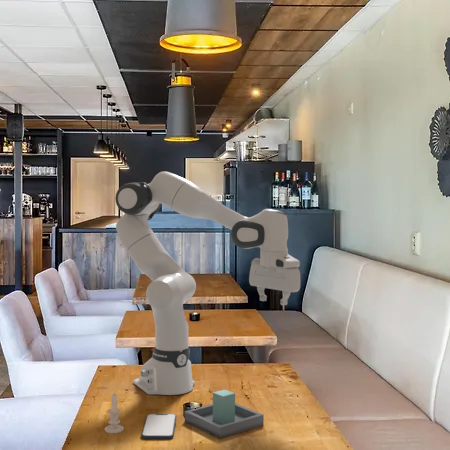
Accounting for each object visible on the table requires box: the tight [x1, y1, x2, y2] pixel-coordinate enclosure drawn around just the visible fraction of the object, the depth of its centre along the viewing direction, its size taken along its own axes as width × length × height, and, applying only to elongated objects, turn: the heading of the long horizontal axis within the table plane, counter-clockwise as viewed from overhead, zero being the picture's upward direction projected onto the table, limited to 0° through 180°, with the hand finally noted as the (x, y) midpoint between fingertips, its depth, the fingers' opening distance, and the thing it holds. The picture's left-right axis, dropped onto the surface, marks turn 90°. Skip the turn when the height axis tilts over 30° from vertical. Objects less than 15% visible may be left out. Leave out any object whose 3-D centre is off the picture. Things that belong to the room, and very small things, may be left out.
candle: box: [104, 392, 125, 434], centre depth 166 cm, size 5×5×10 cm
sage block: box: [212, 389, 236, 425], centre depth 172 cm, size 4×4×8 cm
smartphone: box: [140, 413, 177, 441], centre depth 168 cm, size 9×2×16 cm
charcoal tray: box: [184, 402, 265, 440], centre depth 172 cm, size 16×16×3 cm
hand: (273, 302), depth 193 cm, fingers open, 8 cm apart
